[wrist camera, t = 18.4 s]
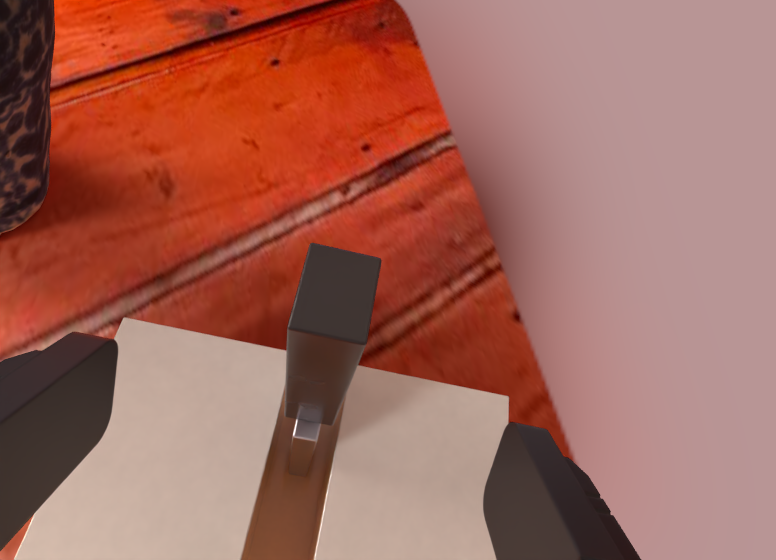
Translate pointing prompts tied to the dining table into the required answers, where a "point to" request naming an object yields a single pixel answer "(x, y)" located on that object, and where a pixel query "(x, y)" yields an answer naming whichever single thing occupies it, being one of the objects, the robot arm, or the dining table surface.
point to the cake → (270, 464)
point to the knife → (325, 341)
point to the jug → (24, 107)
